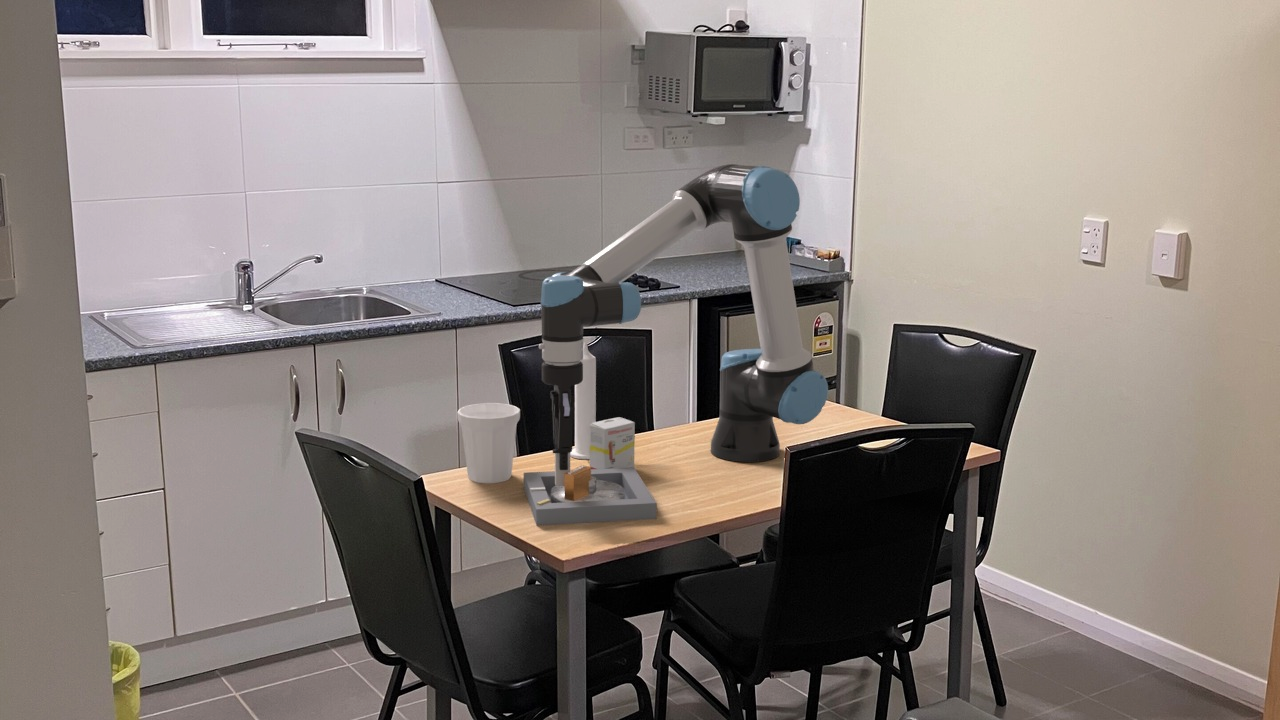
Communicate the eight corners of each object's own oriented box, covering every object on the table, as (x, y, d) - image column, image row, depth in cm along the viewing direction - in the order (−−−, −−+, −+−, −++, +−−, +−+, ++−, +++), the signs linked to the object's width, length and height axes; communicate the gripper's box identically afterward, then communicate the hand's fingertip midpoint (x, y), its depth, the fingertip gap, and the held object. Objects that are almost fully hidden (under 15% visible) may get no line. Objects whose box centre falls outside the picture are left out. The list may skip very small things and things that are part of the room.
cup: (469, 472, 258) (467, 401, 255) (527, 476, 257) (527, 404, 253) (450, 491, 246) (449, 416, 243) (511, 495, 245) (511, 420, 241)
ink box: (604, 484, 252) (604, 428, 249) (588, 479, 255) (588, 423, 253) (635, 476, 257) (636, 421, 255) (619, 471, 261) (619, 416, 258)
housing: (633, 488, 249) (634, 465, 248) (656, 526, 228) (656, 501, 227) (523, 494, 245) (523, 471, 244) (536, 533, 224) (536, 507, 223)
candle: (607, 456, 271) (607, 344, 265) (577, 461, 267) (578, 347, 262) (592, 448, 277) (592, 338, 271) (563, 452, 273) (563, 341, 268)
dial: (576, 485, 245) (576, 449, 244) (638, 496, 239) (638, 460, 237) (536, 504, 234) (535, 467, 232) (600, 518, 227) (600, 479, 225)
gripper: (537, 354, 233) (538, 475, 238) (546, 369, 220) (546, 496, 226) (577, 353, 234) (577, 473, 239) (588, 368, 222) (587, 494, 227)
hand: (562, 484), depth 233 cm, fingers closed
